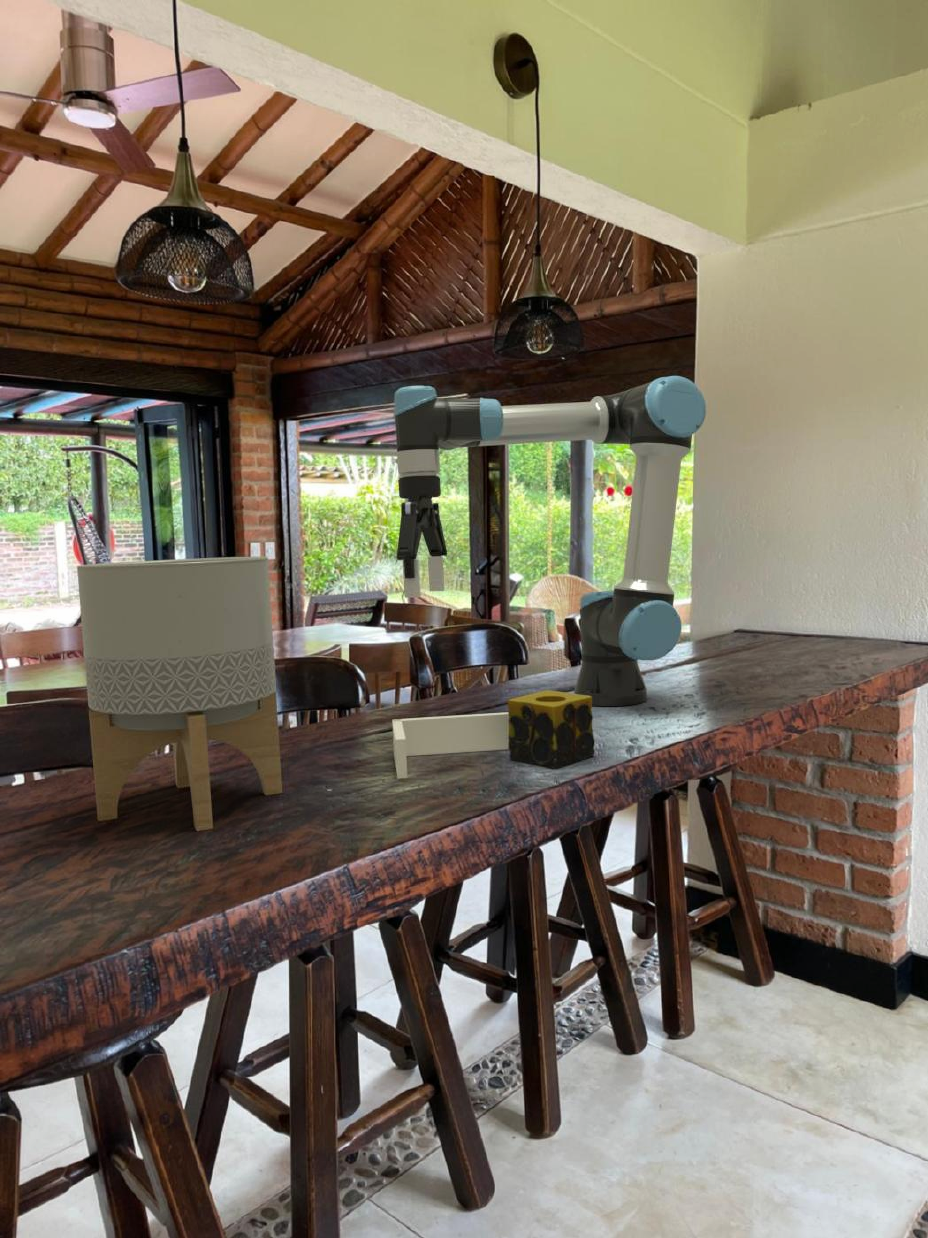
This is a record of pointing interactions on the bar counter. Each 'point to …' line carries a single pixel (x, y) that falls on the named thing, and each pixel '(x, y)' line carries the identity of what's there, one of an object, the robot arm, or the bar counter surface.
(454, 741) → the white angular piece
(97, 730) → the planter
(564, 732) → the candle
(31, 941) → the bar counter surface
